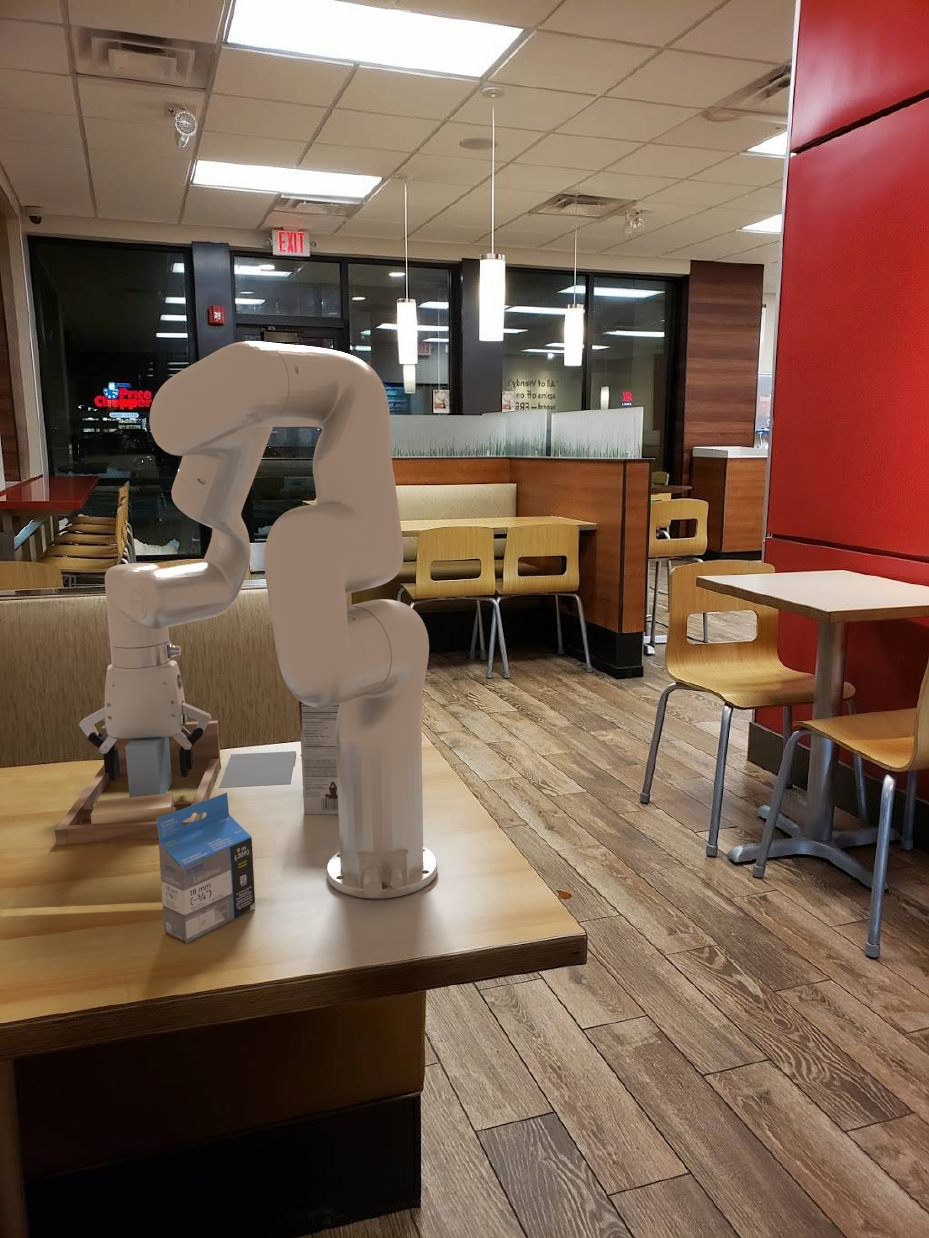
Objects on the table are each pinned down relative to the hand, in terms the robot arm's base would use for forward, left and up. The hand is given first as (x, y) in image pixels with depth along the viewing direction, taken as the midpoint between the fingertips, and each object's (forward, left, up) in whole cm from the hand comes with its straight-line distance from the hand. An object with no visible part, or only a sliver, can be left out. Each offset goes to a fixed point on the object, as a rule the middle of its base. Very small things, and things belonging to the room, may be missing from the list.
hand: (150, 775), depth 126 cm
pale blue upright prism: (0, 0, -3) cm, 3 cm away
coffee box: (-5, -25, -3) cm, 26 cm away
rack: (-3, 0, -3) cm, 4 cm away
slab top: (-11, 0, -1) cm, 11 cm away
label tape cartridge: (-35, -13, -4) cm, 38 cm away
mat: (+8, -14, -3) cm, 16 cm away
